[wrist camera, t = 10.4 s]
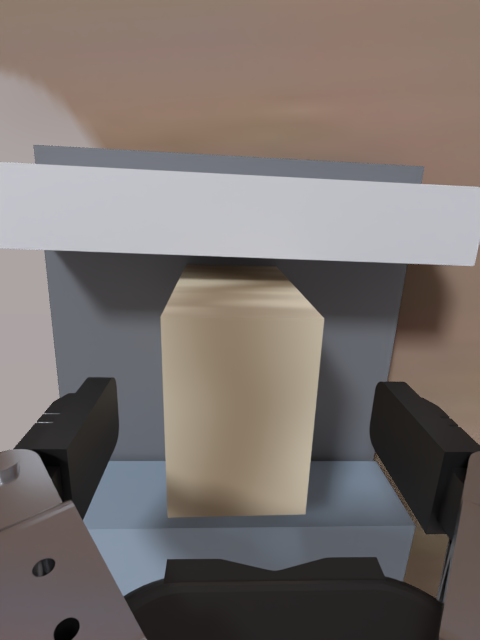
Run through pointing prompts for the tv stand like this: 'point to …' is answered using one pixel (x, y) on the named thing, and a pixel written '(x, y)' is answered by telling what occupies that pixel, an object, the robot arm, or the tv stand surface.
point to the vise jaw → (248, 524)
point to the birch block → (238, 392)
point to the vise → (228, 263)
